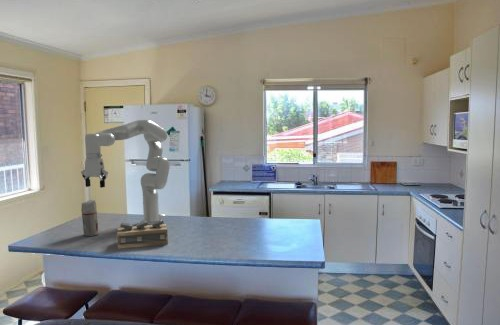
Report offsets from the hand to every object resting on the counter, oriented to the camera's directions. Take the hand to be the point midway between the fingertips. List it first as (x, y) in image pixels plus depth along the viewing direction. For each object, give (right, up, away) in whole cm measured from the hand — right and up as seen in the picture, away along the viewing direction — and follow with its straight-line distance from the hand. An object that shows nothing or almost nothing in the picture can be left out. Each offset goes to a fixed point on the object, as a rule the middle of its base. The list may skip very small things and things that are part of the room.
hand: (95, 186), depth 221 cm
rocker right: (+36, -19, -8) cm, 42 cm away
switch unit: (+29, -29, -9) cm, 42 cm away
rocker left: (+21, -20, -12) cm, 31 cm away
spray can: (-6, -28, +8) cm, 30 cm away
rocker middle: (+29, -19, -10) cm, 36 cm away
